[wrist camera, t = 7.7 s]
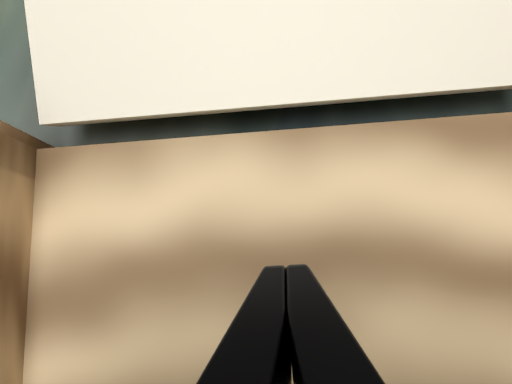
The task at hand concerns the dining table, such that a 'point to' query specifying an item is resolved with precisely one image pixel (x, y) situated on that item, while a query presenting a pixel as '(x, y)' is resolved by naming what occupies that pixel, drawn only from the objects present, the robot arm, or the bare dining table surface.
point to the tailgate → (257, 54)
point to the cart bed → (257, 247)
